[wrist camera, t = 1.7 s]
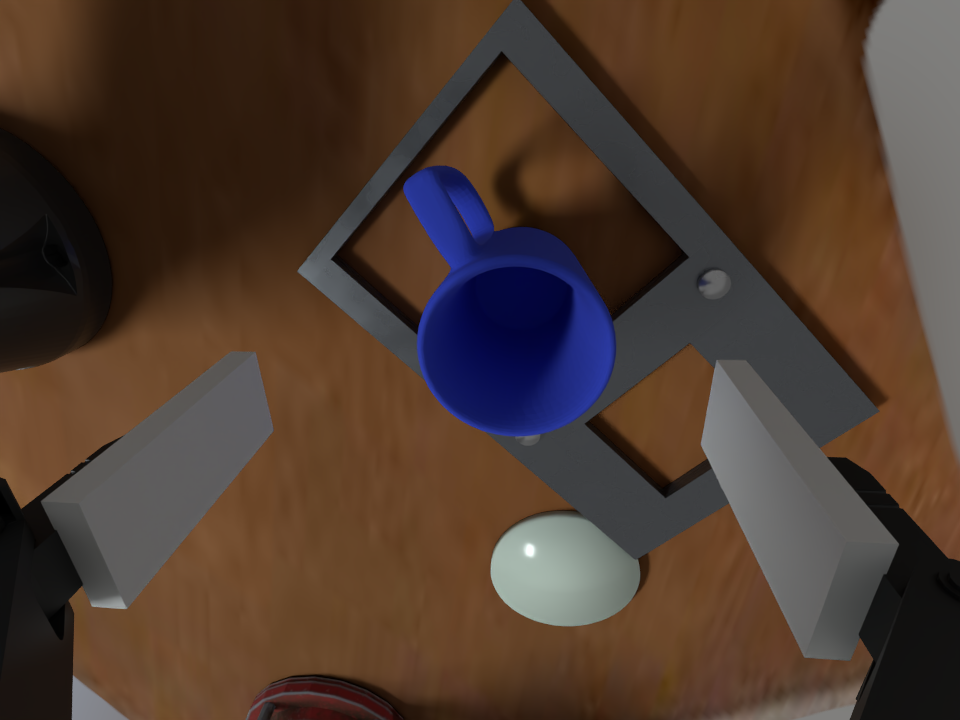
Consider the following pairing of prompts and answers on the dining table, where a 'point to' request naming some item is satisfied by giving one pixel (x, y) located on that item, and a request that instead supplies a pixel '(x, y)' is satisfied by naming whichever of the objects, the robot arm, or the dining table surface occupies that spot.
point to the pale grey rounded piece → (562, 570)
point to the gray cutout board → (638, 323)
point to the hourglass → (319, 701)
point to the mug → (507, 317)
